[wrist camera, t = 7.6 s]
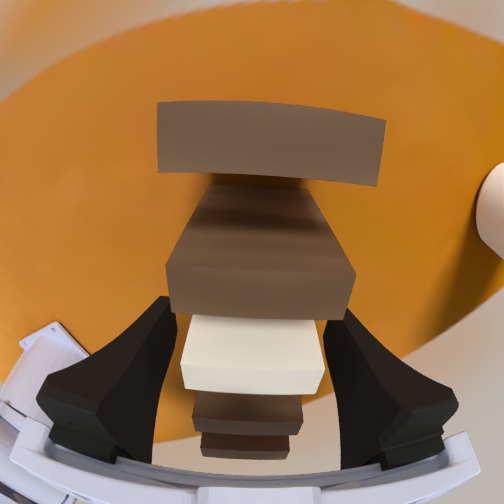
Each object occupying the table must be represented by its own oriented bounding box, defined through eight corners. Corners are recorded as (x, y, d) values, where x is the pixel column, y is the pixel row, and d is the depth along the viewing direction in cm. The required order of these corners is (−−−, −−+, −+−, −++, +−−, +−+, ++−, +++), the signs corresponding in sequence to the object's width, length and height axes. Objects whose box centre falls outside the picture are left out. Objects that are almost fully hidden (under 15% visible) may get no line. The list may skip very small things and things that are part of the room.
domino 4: (286, 329, 19) (297, 434, 12) (212, 325, 19) (195, 431, 12) (289, 311, 18) (303, 421, 11) (211, 307, 18) (191, 417, 11)
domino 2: (303, 218, 15) (342, 320, 8) (209, 213, 15) (171, 312, 8) (307, 189, 14) (356, 274, 7) (209, 183, 14) (165, 264, 7)
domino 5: (279, 365, 21) (285, 459, 14) (214, 362, 21) (202, 456, 14) (281, 352, 20) (289, 450, 13) (213, 349, 20) (200, 447, 13)
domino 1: (312, 144, 13) (375, 187, 6) (210, 137, 13) (157, 172, 6) (315, 113, 12) (385, 120, 5) (211, 106, 12) (157, 102, 5)
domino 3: (294, 280, 17) (315, 393, 10) (210, 275, 17) (185, 388, 10) (298, 256, 16) (325, 369, 9) (210, 252, 16) (180, 363, 9)
